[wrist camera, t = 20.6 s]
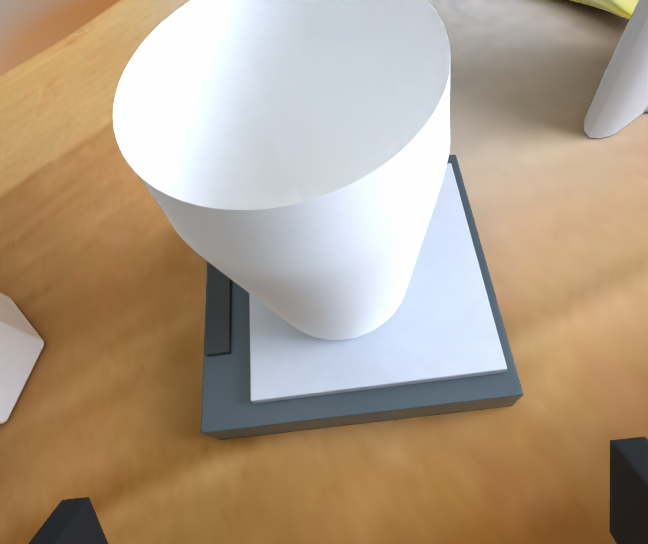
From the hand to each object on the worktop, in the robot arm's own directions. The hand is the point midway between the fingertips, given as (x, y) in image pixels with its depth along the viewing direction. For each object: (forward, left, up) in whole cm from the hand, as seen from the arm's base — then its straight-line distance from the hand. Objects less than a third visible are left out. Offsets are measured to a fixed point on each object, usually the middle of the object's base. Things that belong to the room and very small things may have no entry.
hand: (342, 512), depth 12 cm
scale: (0, +10, -10) cm, 14 cm away
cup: (0, +10, -7) cm, 12 cm away
